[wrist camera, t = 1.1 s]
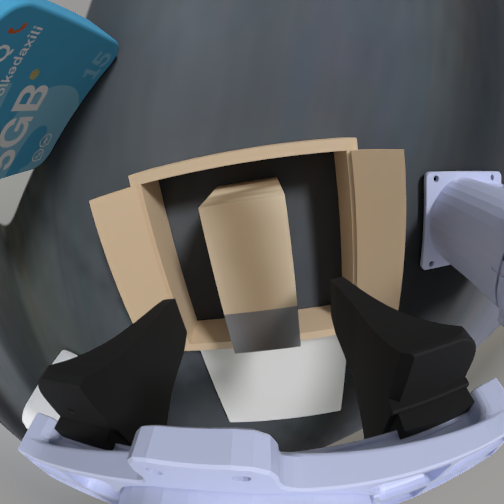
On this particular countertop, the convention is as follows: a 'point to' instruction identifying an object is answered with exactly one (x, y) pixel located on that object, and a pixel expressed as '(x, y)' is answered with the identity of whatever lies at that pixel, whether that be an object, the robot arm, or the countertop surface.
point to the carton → (345, 155)
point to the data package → (44, 76)
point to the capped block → (253, 264)
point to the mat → (279, 380)
